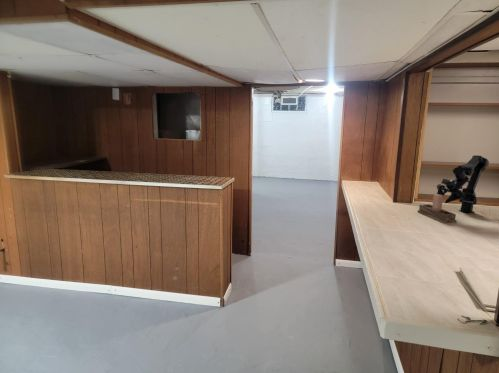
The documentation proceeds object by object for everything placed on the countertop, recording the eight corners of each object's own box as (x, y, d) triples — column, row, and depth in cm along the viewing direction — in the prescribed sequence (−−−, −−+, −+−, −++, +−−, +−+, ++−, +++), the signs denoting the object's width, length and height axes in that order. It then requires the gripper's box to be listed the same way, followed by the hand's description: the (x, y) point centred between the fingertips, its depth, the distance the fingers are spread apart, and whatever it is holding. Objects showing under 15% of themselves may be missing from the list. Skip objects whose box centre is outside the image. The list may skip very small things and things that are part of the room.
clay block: (435, 213, 204) (438, 194, 201) (440, 215, 200) (443, 195, 197) (431, 214, 204) (433, 194, 201) (436, 216, 199) (438, 196, 197)
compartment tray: (430, 211, 214) (430, 204, 213) (456, 222, 191) (457, 214, 190) (417, 211, 213) (418, 204, 212) (442, 222, 190) (443, 214, 189)
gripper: (440, 171, 206) (423, 189, 207) (462, 177, 188) (443, 195, 189) (450, 183, 209) (433, 200, 210) (473, 189, 191) (453, 208, 192)
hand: (440, 200), depth 200 cm, fingers open, 9 cm apart
